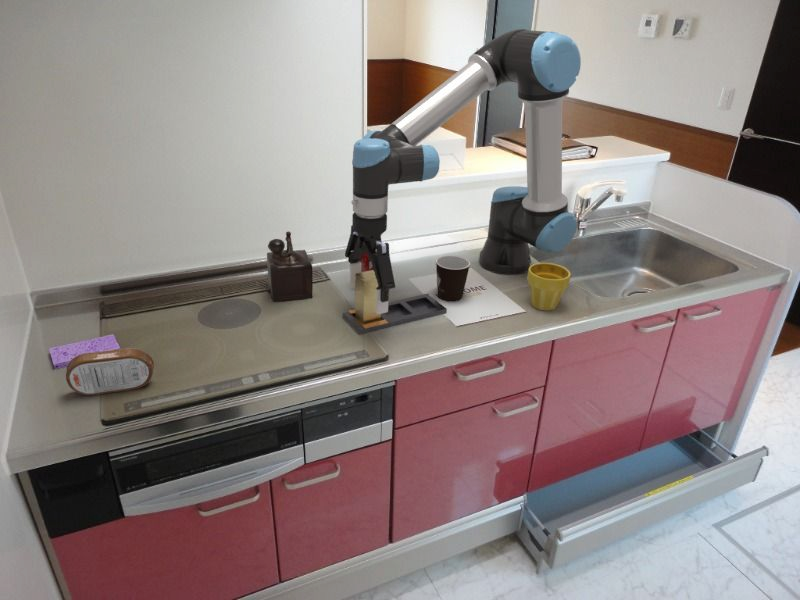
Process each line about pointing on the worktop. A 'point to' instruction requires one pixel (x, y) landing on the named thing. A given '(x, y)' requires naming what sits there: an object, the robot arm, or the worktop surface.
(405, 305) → the tray
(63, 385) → the worktop surface
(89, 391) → the tin
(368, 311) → the brass peg
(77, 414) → the worktop surface
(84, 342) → the sponges
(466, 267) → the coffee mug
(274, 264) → the coffee grinder
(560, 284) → the plant pot
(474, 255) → the worktop surface
